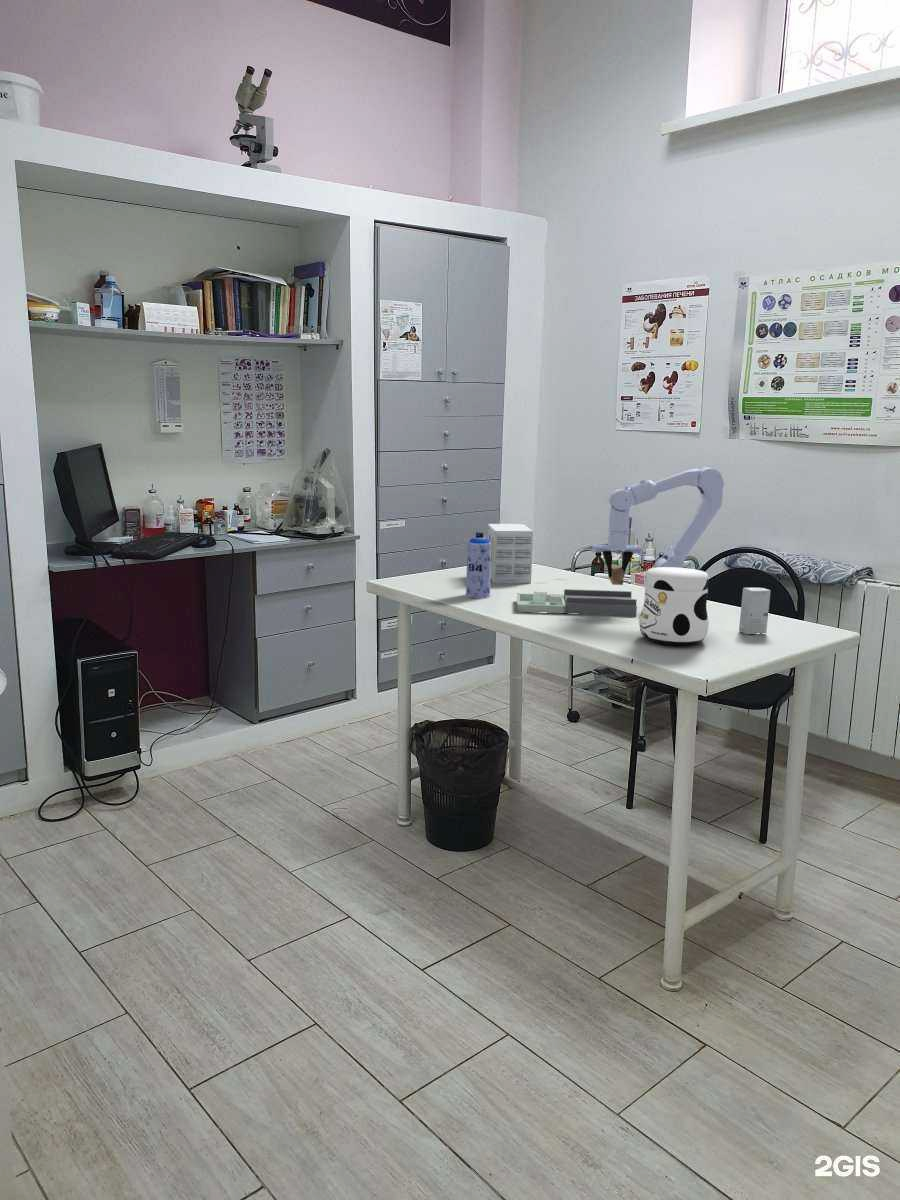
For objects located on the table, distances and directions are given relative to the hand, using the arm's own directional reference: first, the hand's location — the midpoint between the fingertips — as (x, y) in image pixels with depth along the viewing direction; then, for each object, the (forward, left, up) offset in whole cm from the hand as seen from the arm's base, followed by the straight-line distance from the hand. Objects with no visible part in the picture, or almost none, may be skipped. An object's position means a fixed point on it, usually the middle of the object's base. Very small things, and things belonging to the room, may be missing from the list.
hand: (616, 577), depth 267 cm
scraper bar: (0, 0, -1) cm, 1 cm away
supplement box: (+53, +11, -10) cm, 55 cm away
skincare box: (-35, -22, -10) cm, 43 cm away
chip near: (+4, +18, -7) cm, 20 cm away
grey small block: (+12, +18, -8) cm, 24 cm away
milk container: (-36, +4, -10) cm, 37 cm away
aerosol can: (+29, +32, -10) cm, 44 cm away
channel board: (+2, +4, -10) cm, 11 cm away
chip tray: (+9, +20, -10) cm, 24 cm away
